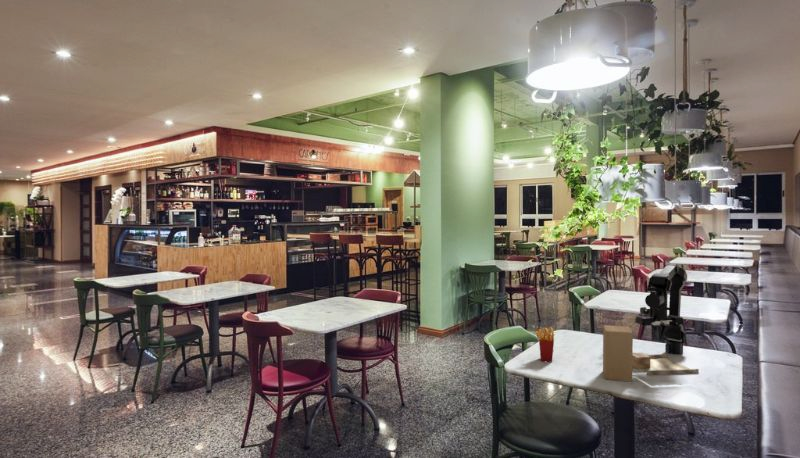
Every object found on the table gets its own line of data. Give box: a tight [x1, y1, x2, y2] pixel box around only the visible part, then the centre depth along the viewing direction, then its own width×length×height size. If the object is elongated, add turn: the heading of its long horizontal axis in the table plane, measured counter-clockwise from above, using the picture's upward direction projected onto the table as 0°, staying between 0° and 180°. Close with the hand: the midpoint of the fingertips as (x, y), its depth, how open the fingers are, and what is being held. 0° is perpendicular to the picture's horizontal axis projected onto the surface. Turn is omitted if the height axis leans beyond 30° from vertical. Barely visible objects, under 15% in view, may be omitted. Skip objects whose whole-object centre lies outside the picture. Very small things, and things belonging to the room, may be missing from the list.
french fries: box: [535, 326, 555, 363], centre depth 211 cm, size 9×8×15 cm
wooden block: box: [602, 324, 634, 383], centre depth 188 cm, size 10×10×20 cm
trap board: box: [637, 353, 700, 376], centre depth 198 cm, size 22×20×2 cm
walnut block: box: [632, 352, 650, 370], centre depth 198 cm, size 6×6×5 cm
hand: (659, 339), depth 198 cm, fingers closed
